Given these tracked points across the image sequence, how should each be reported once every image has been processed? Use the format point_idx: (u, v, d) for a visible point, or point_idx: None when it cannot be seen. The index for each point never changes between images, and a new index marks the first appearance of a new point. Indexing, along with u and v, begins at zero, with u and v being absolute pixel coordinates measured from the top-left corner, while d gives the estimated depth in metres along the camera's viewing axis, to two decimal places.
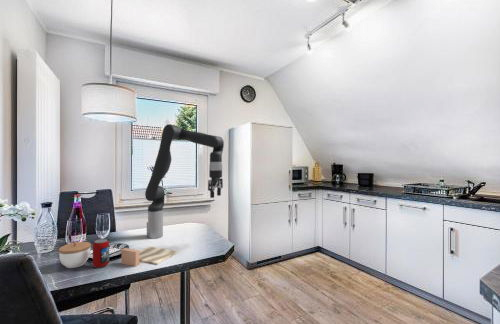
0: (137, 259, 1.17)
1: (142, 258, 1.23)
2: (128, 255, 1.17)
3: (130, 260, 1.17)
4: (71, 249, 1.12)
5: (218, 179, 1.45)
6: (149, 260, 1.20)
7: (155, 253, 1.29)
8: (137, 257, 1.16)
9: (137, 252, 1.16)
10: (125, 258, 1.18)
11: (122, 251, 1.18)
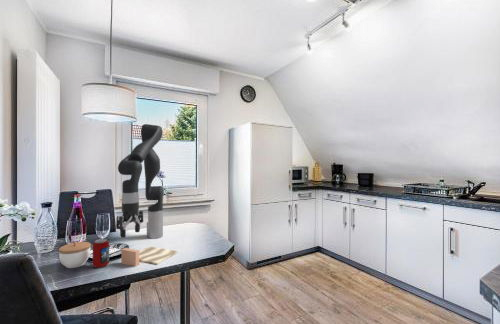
0: (137, 259, 1.17)
1: (142, 258, 1.23)
2: (128, 255, 1.17)
3: (130, 260, 1.17)
4: (71, 249, 1.12)
5: (134, 213, 1.19)
6: (149, 260, 1.20)
7: (155, 253, 1.29)
8: (137, 257, 1.17)
9: (137, 252, 1.16)
10: (125, 258, 1.18)
11: (122, 251, 1.18)
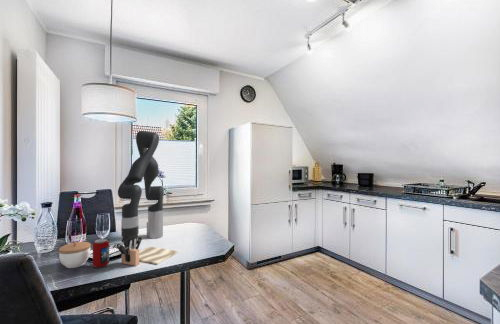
0: (137, 258, 1.17)
1: (142, 258, 1.23)
2: None
3: (130, 260, 1.17)
4: (71, 249, 1.12)
5: (134, 237, 1.19)
6: (149, 260, 1.20)
7: (155, 253, 1.29)
8: (137, 256, 1.17)
9: (137, 251, 1.17)
10: None
11: None
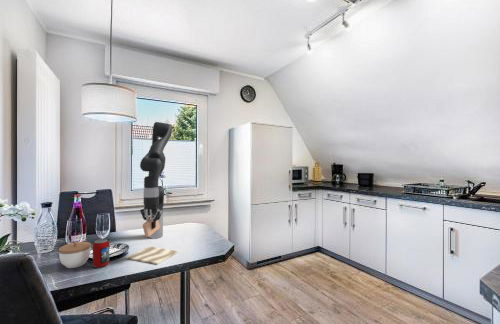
0: (145, 231, 1.25)
1: (142, 258, 1.23)
2: None
3: None
4: (71, 249, 1.12)
5: (152, 207, 1.27)
6: (149, 260, 1.20)
7: (155, 253, 1.29)
8: (145, 230, 1.24)
9: (144, 225, 1.24)
10: None
11: None
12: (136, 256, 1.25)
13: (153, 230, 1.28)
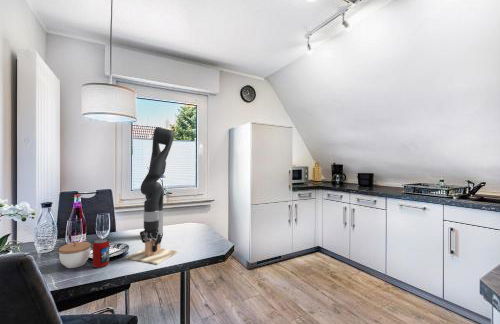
0: (146, 250, 1.25)
1: (142, 258, 1.23)
2: None
3: None
4: (71, 249, 1.12)
5: (152, 231, 1.27)
6: (149, 260, 1.20)
7: (155, 253, 1.29)
8: (146, 248, 1.25)
9: (146, 244, 1.25)
10: None
11: None
12: (136, 256, 1.25)
13: None
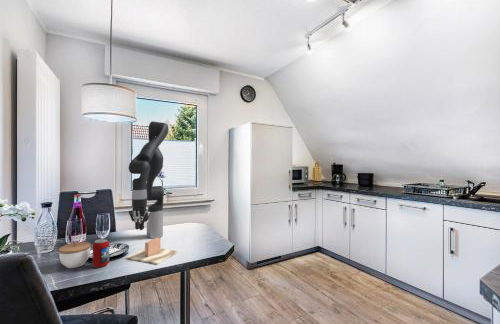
0: (146, 250, 1.25)
1: (142, 258, 1.23)
2: None
3: None
4: (71, 249, 1.12)
5: (140, 209, 1.30)
6: (149, 260, 1.20)
7: (155, 253, 1.29)
8: (146, 248, 1.25)
9: (146, 244, 1.25)
10: None
11: None
12: (136, 256, 1.25)
13: (154, 251, 1.29)
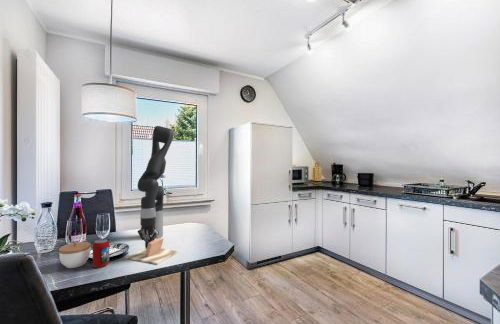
0: (148, 250, 1.25)
1: (142, 258, 1.23)
2: None
3: None
4: (71, 249, 1.12)
5: (148, 228, 1.27)
6: (149, 260, 1.20)
7: (155, 253, 1.29)
8: (148, 248, 1.25)
9: (149, 244, 1.25)
10: None
11: None
12: (136, 256, 1.25)
13: (154, 251, 1.29)
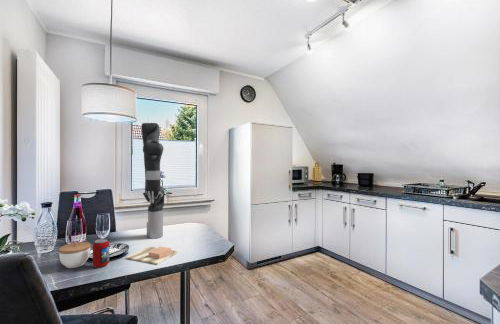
0: (153, 255, 1.24)
1: (142, 258, 1.23)
2: (161, 250, 1.28)
3: (156, 250, 1.27)
4: (71, 249, 1.12)
5: (154, 189, 1.34)
6: (149, 260, 1.20)
7: None
8: (154, 255, 1.24)
9: (158, 256, 1.23)
10: (161, 248, 1.30)
11: (168, 248, 1.31)
12: (136, 256, 1.25)
13: None
